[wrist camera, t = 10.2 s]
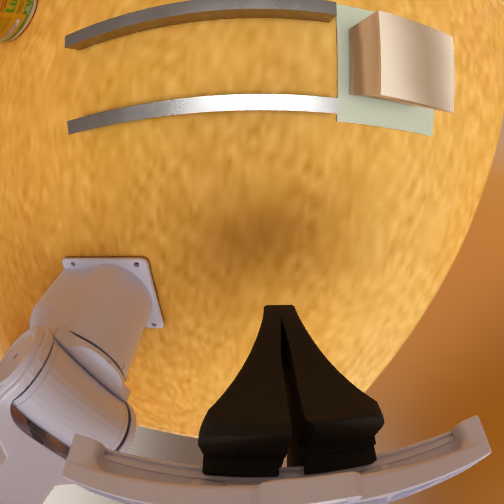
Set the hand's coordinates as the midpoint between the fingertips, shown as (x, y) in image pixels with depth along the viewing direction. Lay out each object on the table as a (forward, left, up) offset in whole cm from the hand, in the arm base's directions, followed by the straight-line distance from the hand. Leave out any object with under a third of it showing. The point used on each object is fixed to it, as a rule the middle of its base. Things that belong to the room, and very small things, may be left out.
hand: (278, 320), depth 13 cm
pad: (+8, +13, -9) cm, 18 cm away
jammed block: (+8, +13, -9) cm, 18 cm away
